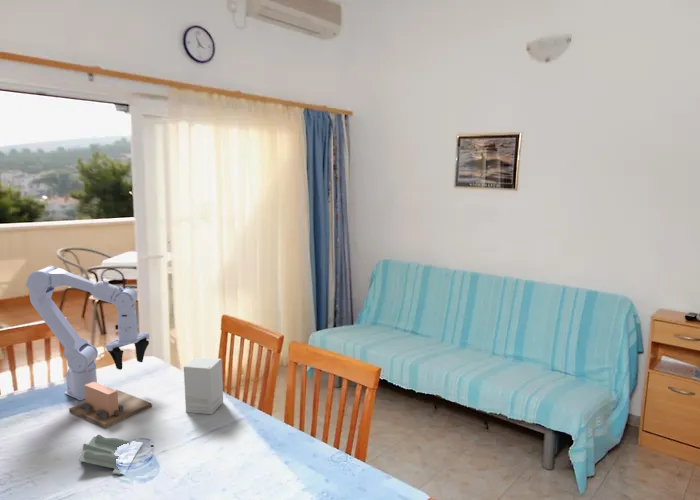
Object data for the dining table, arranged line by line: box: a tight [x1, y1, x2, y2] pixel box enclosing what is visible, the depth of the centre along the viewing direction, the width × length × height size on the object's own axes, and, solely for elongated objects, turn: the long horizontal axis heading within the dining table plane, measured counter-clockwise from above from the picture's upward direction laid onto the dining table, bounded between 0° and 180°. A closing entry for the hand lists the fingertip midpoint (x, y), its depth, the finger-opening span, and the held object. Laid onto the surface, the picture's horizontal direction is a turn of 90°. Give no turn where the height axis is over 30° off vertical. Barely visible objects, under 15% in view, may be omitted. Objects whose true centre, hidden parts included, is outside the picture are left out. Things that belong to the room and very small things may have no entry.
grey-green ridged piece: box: [76, 434, 130, 476], centre depth 132 cm, size 14×6×15 cm
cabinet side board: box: [68, 389, 153, 429], centre depth 159 cm, size 18×16×3 cm
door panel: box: [84, 382, 119, 417], centre depth 156 cm, size 12×3×7 cm, turn 59°
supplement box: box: [183, 356, 224, 415], centre depth 161 cm, size 9×9×15 cm
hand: (129, 365), depth 170 cm, fingers open, 7 cm apart
